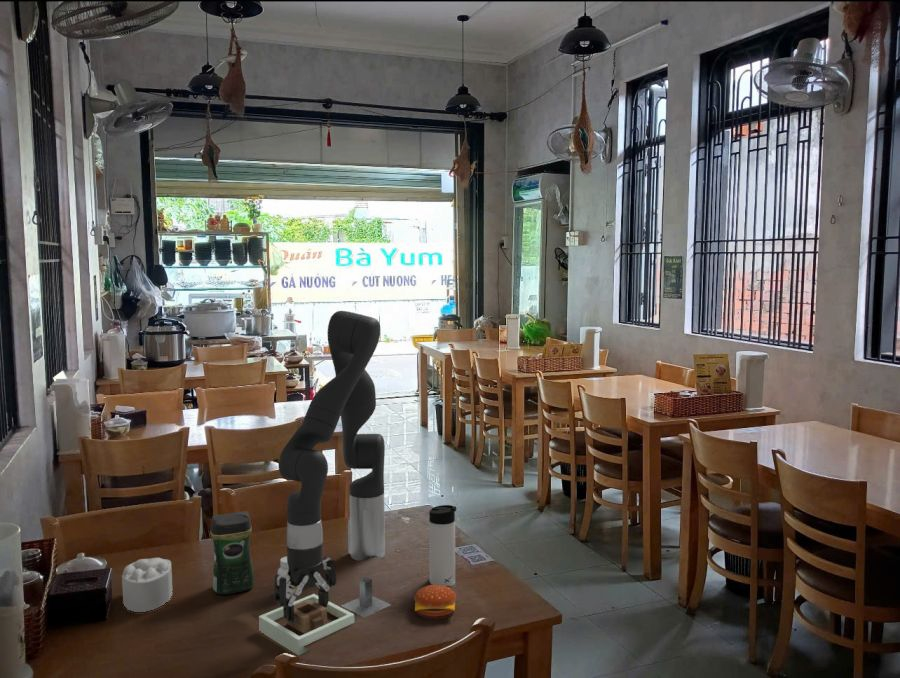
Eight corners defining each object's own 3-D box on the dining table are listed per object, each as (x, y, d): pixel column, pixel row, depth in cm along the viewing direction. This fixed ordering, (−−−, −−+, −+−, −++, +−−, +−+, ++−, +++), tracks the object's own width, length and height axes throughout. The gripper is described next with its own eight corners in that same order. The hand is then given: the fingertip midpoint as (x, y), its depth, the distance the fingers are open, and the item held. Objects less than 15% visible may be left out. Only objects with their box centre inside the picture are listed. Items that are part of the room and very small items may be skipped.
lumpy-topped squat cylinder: (174, 585, 176) (173, 551, 175) (167, 610, 163) (166, 573, 162) (129, 590, 173) (127, 556, 172) (118, 615, 161) (116, 578, 160)
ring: (287, 626, 154) (287, 609, 154) (310, 616, 158) (310, 599, 158) (308, 639, 149) (307, 620, 148) (331, 628, 153) (330, 610, 153)
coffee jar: (251, 578, 180) (249, 506, 178) (256, 591, 173) (253, 516, 171) (211, 584, 176) (208, 511, 175) (213, 598, 169) (210, 521, 167)
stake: (341, 612, 162) (340, 580, 161) (368, 599, 168) (367, 569, 167) (364, 623, 157) (363, 591, 156) (391, 611, 163) (390, 579, 162)
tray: (259, 630, 154) (258, 616, 154) (314, 607, 164) (313, 593, 164) (298, 655, 144) (298, 639, 144) (354, 629, 155) (354, 614, 154)
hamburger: (458, 626, 156) (457, 597, 155) (413, 627, 155) (413, 598, 155) (456, 605, 165) (455, 578, 164) (414, 607, 165) (413, 579, 164)
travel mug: (453, 593, 171) (453, 512, 169) (426, 591, 173) (426, 510, 170) (458, 582, 177) (458, 503, 175) (432, 579, 179) (432, 501, 177)
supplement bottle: (306, 595, 170) (305, 556, 169) (294, 605, 165) (292, 564, 164) (286, 592, 172) (285, 553, 171) (273, 602, 167) (272, 561, 166)
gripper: (321, 527, 160) (322, 597, 162) (265, 545, 150) (268, 620, 151) (342, 536, 155) (343, 608, 156) (286, 555, 144) (288, 632, 146)
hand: (306, 613), depth 154 cm, fingers open, 8 cm apart
